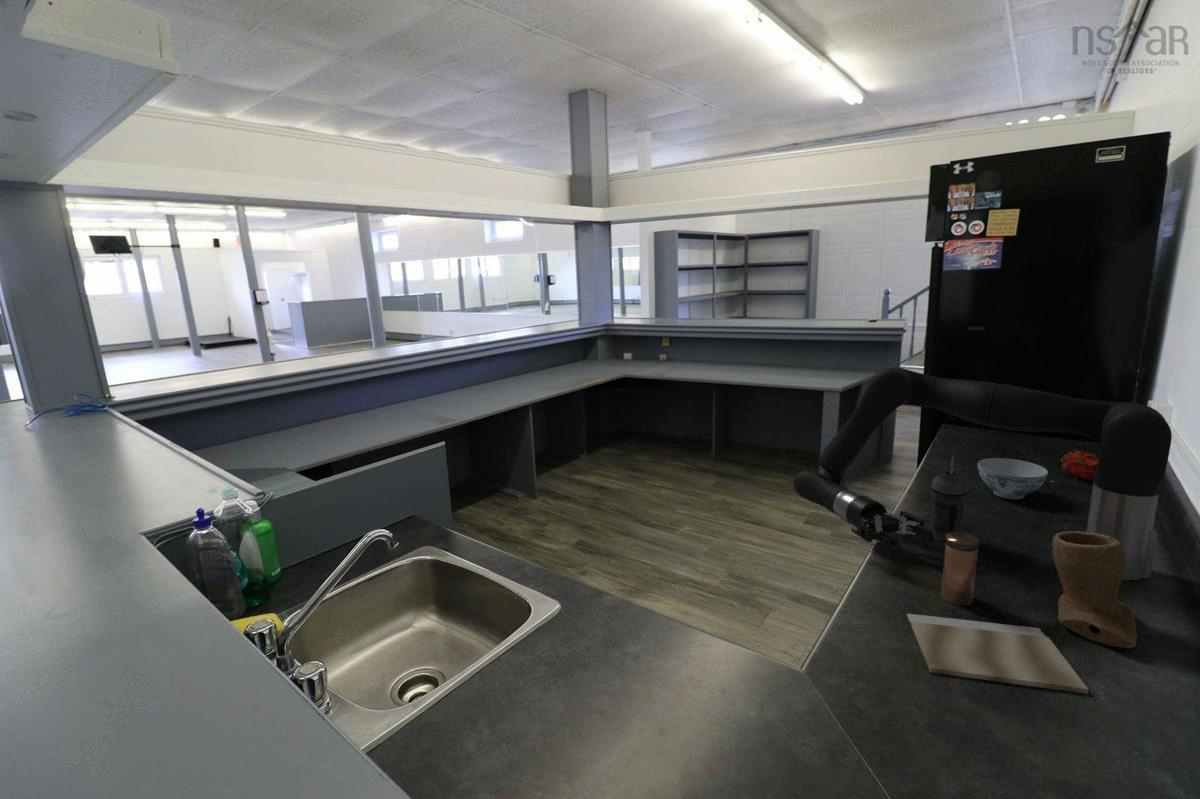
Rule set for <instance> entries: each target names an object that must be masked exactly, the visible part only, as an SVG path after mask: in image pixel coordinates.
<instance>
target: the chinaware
mask: <svg viewBox="0 0 1200 799" xmlns="http://www.w3.org/2000/svg"><path fill="white" fill-rule="evenodd" d="M977 470H978V472H979V476H980V478H981V479H982V482H984V484H985V485H986V486H988V488H990V489H991V490H992V491H993V494H994V495H995V496H997V497H1000V498H1002V499H1003V498H1004V499H1008V500H1023V499H1024V498H1025V496H1026V495H1029V494H1032V493H1033V492H1035V491H1037V490H1038V489H1039V488H1041V487H1042V485H1043V484H1044V482H1045V481H1046V479H1047V477H1048V474H1049V471H1048V470H1047V468H1045V467H1043V466H1042V465H1038V464H1037V463H1033V462H1029V461H1025V460H1019V459H1012V458H999V457H993V458H983V459H981V460H979V461H978V462H977Z"/></svg>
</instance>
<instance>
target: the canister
mask: <svg viewBox="0 0 1200 799" xmlns="http://www.w3.org/2000/svg"><path fill="white" fill-rule="evenodd" d="M944 544H945V545H944V546H945V547H944V554H943V555H944V556H943V566H942V567H943V568H942V578H941V588H940V591H941V592H940V596H941V597H942V599H943V600H945V601H946V602H948V603H951V604H954V605H958V606H970V605H972V603H973V601H974V591H975V590H974V589H975V583H976V582H975V580H976V571H977V563H978V562H977V560H978V552H979V547H980V540H979V539H978V537H976V536H975V535H972V534H969V533H965V532H961V531H959V532H950V533H947V534H946V536H945V542H944Z"/></svg>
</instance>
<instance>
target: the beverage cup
mask: <svg viewBox="0 0 1200 799" xmlns="http://www.w3.org/2000/svg"><path fill="white" fill-rule="evenodd" d="M955 457H956V455H954V454H953V455H951V462H950V463H951V464H950V470H949V471H944V472H941V473H939V474H937V476H935V478H933V479H932V482H931V485H930V494H931V498H932V532H933V538H934V539H936V540H938V541H940V540H941V542H944V541H945V536H946V534H947V533H950V532H960V531H959V530H960V526H961V523H962V518H963V513H964V508H965V503H966V502H967V501H966V500H967V498H968V495H969V487H968V483H967V482H966V480H965V478H964V477H963V476H961V475H960V474H958V473H957V472H954V466H955V465H954V464H955Z"/></svg>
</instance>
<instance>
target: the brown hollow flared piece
mask: <svg viewBox="0 0 1200 799" xmlns="http://www.w3.org/2000/svg"><path fill="white" fill-rule="evenodd" d="M1052 557H1053V562H1054V565H1055V568H1056V570H1057V573H1058V576H1059V580H1060V582H1061V586H1062V589H1063V593H1062V594H1061V595H1060V597H1058V604H1057V606H1058V607H1057V609H1058V616H1057V619H1058V622H1059V623H1060V624H1062V625H1063V626H1065V627H1067V628H1068V629H1070V630H1071V631H1072V632H1074V633H1076V634H1078V635H1079V636H1080V637H1082V638H1084V639H1087V640H1089V641H1092V642H1096V643H1098V644H1101V645H1102V644H1103V645H1106V646H1111V647H1115V648H1116V647H1117V648H1124V649H1133V648H1135V647H1136V645H1137V628H1136V627H1137V626H1136V618H1135V614H1134V612H1133V609H1132V607H1130V606H1129V605H1128V604H1126V603H1124V602H1122V601H1118V600H1117V599H1118V594H1119V592H1120V588H1121V585H1122V582H1123V581H1124V580H1123V578H1124V574H1125V552H1124V548H1123V546H1122V544H1121V543H1120V542H1119V541H1118V540H1116V539H1114V538H1112V537H1110V536H1107V535H1103V534H1098V533H1088V532H1086V531H1078V530H1077V531H1076V530H1075V531H1072V530H1071V531H1070V530H1069V531H1068V530H1067V531H1062V532H1058V533H1056V534H1054V536H1053V537H1052Z"/></svg>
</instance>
